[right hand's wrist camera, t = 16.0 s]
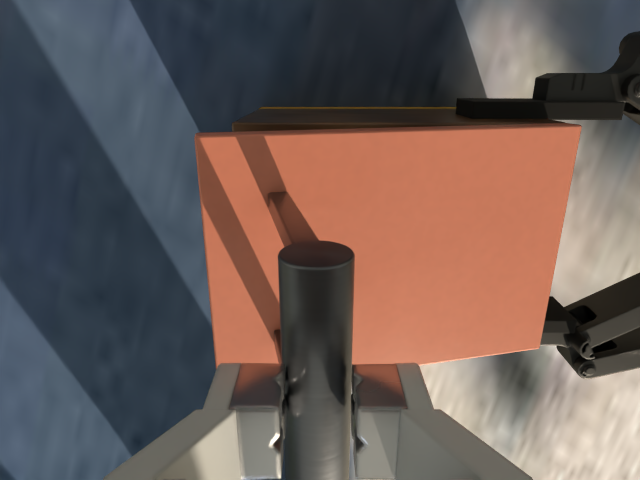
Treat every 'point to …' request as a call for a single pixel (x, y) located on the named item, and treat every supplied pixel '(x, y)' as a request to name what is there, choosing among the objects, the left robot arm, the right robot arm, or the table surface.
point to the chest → (362, 118)
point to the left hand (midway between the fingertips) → (452, 219)
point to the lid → (376, 255)
